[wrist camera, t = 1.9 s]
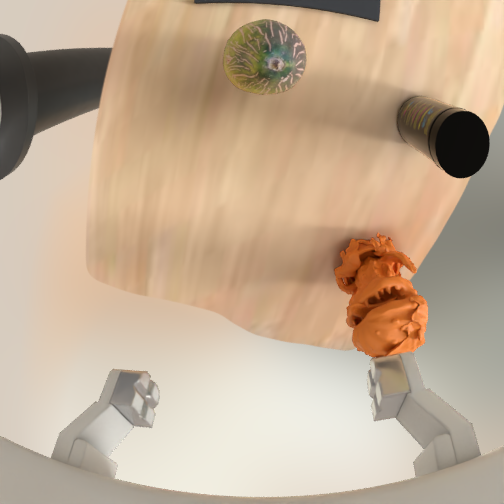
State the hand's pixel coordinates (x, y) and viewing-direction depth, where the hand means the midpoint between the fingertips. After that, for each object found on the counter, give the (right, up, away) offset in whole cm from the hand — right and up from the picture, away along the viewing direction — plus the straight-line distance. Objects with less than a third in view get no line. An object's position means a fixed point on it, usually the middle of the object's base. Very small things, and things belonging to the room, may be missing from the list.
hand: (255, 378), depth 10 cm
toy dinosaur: (+16, +4, +32) cm, 36 cm away
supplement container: (+20, +20, +21) cm, 35 cm away
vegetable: (+1, +25, +19) cm, 31 cm away
